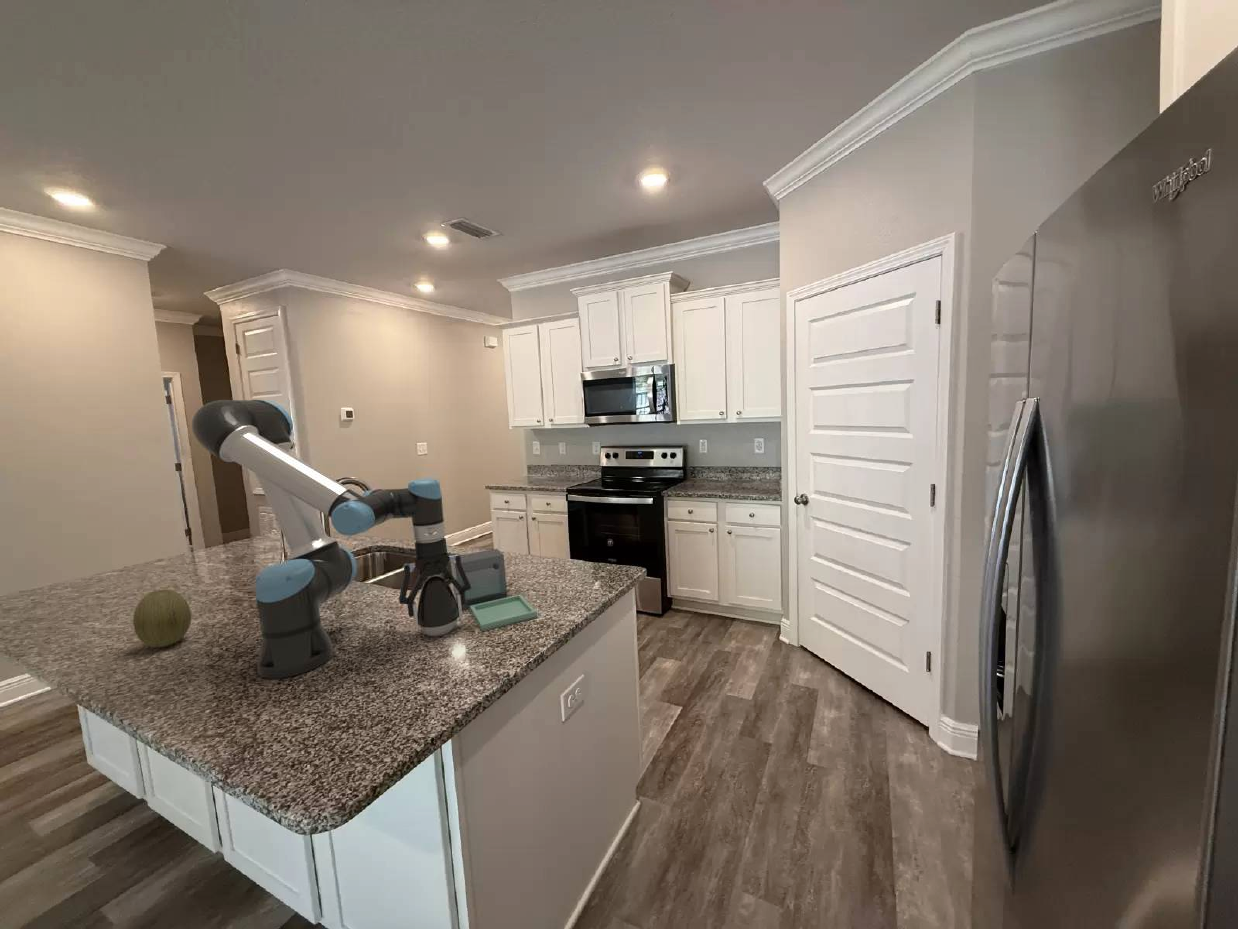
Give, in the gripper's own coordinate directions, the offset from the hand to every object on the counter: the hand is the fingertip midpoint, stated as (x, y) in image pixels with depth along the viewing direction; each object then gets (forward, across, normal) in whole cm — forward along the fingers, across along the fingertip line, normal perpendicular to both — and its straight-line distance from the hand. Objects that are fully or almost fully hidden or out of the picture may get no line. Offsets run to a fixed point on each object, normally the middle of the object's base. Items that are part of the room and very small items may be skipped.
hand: (438, 621), depth 130 cm
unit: (+3, +14, +15) cm, 21 cm away
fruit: (+3, -64, +35) cm, 73 cm away
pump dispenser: (+3, 0, 0) cm, 3 cm away
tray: (+3, +17, +1) cm, 17 cm away
